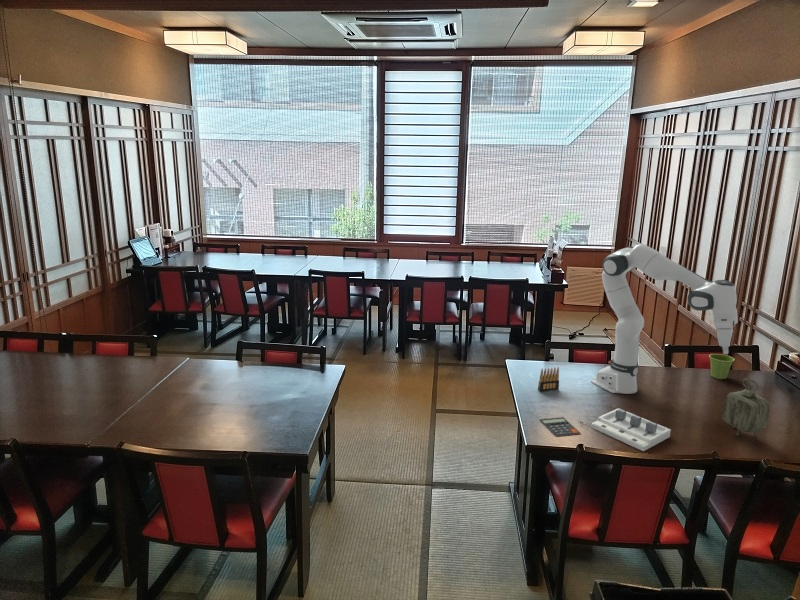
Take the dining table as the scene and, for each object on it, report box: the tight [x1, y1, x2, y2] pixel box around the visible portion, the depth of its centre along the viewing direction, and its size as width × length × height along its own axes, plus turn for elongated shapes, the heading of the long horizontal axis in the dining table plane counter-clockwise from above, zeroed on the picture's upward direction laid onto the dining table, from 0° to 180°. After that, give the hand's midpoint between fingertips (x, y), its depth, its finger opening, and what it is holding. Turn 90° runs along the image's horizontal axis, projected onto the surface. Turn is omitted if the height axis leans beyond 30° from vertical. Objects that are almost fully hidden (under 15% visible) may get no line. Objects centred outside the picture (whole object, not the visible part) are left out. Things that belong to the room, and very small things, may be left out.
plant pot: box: [708, 353, 735, 380], centre depth 284 cm, size 12×12×11 cm
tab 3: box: [645, 420, 658, 434], centre depth 221 cm, size 3×3×4 cm
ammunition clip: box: [537, 366, 560, 393], centre depth 265 cm, size 11×2×12 cm, turn 104°
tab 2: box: [630, 414, 643, 427], centre depth 227 cm, size 3×3×4 cm
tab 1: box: [615, 408, 627, 421], centre depth 232 cm, size 3×3×4 cm
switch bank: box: [590, 407, 672, 452], centre depth 225 cm, size 24×20×4 cm
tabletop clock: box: [721, 378, 771, 440], centre depth 222 cm, size 14×9×25 cm, turn 20°
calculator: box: [539, 416, 581, 438], centre depth 229 cm, size 12×1×15 cm
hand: (726, 349), depth 225 cm, fingers open, 8 cm apart
